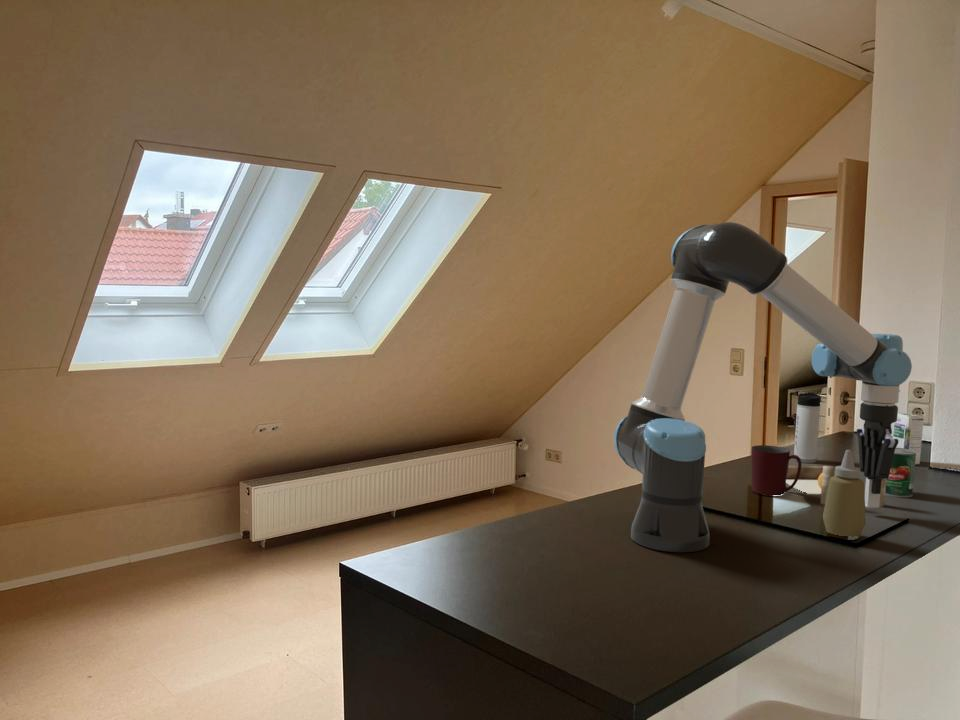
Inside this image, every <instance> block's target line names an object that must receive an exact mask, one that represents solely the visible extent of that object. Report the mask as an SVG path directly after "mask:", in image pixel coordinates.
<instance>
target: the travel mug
mask: <svg viewBox="0 0 960 720" xmlns="http://www.w3.org/2000/svg"><path fill="white" fill-rule="evenodd" d="M821 398H822V397H821V395H820V394H816V393H815V392H807V393H799V394H798V395H797V405H796V406H797V408H796V417H795V418H796V419H795V420H796V421H795V433H794V434H795V435H794V446H793V447H794V448H793V455H797V456H798V457H799V458H800V459H801V463H802V464H814V463H816V462H817V459H818V446H819V434H820V433H819V431H820V418H821V417H820V414H821ZM793 460H794V461H795V462H798V461H797V460H796V459H793Z"/></svg>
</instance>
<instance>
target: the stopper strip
mask: <svg viewBox="0 0 960 720" xmlns="http://www.w3.org/2000/svg"><path fill="white" fill-rule="evenodd" d="M823 466H824V465H821V466H820V465H801V472H800V476H799V479H798V480H818V477H819V475H820V474H821V473H823ZM797 471H798V465H788V471H787V478H786V479H788V480H795V478H796V475H797Z"/></svg>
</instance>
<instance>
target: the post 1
mask: <svg viewBox="0 0 960 720" xmlns="http://www.w3.org/2000/svg"><path fill="white" fill-rule="evenodd" d="M822 466H823V474H822V489H821V495H820V503H825V502H826V496H827V491H828V485H829V480H830V478H831V477H833V476H835V467H836V466H831V465H822Z"/></svg>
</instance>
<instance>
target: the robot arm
mask: <svg viewBox="0 0 960 720" xmlns="http://www.w3.org/2000/svg"><path fill="white" fill-rule="evenodd" d="M670 253H671V255H670V256H671V257H670V260H671V264H672V267H673V270H672V271H673V272H672V274H671V277H670V283H671V285H672V286H673V289H674V292H673V295H672V297H671V302H670V305H669V308H668V312H667V315H666V318H665V321H664V324H663V327H662V330H661V334H660V337H659V340H658V343H657V346H656V349H655V353H654V355H653V359H652V363H651V365H650V367H649V371H648V375H647V378H646V381H645V385H644V386H643V389H642V394H641V396H640V397H639V398H637V399H635V400H633V401H632V402H631V404H630V408H629V411H628V414H627V415H626V416H625V417H623V418H622V419H621V420H620V421H619V423H618V424H617V425H616V427H615V430H614V434H613V444H614V448H615V451H616V453H617V455H618V456H619V457H620V459H621V460H622V461H623V462H624V463H625V465H627V466H628V467H629V468H631V469H633V470H635V471H637V472H639V473H640V474H642V481H641V482H642V483H641V485H642V486H641V500H640V503H639V506H638V508H637V510H636V513H635V515H634V519H633V521H632V524H631V526H630V527H631V531H630V538H631V539H632V541H634V543H636V544H638V545H640V546H642V547H645V548H648V549H652V550H656V551H661V552H668V553H669V552H670V553H694V552H699V551H700V552H701V551H703V550H706V549H707V548H708V547H709V546H710V536H711V535H710V529H709V527H708V523H707V519H706V516H705V511H704V508H703V492H704V477H705V459H706V451H707V445H706V433H705V432H704V430H703V429H702V427H700V426H699V425H697V424H695V423H694V422H691V421H685V420H686V417H685V416H684V414H683V413H682V407H683V402H684V400H685V396H686V393H687V390H688V388H689V384H690V382H691V378H692V374H693V371H694V368H695V365H696V362H697V359H698V356H699V353H700V350H701V347H702V344H703V339H704V337H705V334H706V330H707V327H708V324H709V321H710V318H711V315H712V312H713V309H714V305H715V303H716V301H717V300H719V299H721V298H723V297H725V296H726V292H727V289H728V286H729V283H733V284H736V285H737V286H740V287H741V288H743V289H744V290H746V291H747V292H748V293H750V294H751V295H761V296H762V297H763V298H764V299H765V300H767V301H768V302H769V303H771V304H772V306H774V307H775V308H777V309H778V310H779V311H781V312H782V313H783V314H784V315H786V316H787V317H788V318H789V319H790V320H792V321H793V323H795V324H797V325H798V326H799V327H800V328H802V329H803V330H804V331H806V332H807V333H808V334H809V335H810V336H812V337H813V338H814V339H816V340H817V341H818V342H819V343H818V344H817V345H816V346H815V347H814V348H813V351H812V352H811V353H812V354H811V366H812V368H813V371H814V372H815V373H816V374H817V375H818V376H820V377H827V378H828V377H829V378H833V377H838V378H843V379H844V378H845V379H850V380H855V381H861V392H860V393H861V394H860V400H861V401H862V402H861V403H860V404H859V405H860V407H859V418H860V419H861V420H862V421H864V423H863V427H862V428H857V429H856V435H857V439H858V453H859V454H858V455H859V469H860V473H863V475H864V477H865V483H864V490H865V508H876V509H877V508H880V507H879V502H880V492H881V481H882V480H883V479H888V477H889V473H890V469H891V465H892V460H893V456H894V452H895V448H896V447H897V445H898V439H893V428H892V424H894V422H896V421H897V415H898V413H899V407H898V405H897V403H899V398H900V397H899V396H900V392H901V390H900V385H902V384H904V383H905V382H906V381H907V380H908V379H909V376H910V375H911V372H912V367H913V366H912V360H911V357H910V356H909V355H908V354H907V353H906V352H905V351H903V347H904V345H903V344H904V343H903V342H904V341H903V338H902V336H900V335H898V334H889V333H870V332H869V331H868V330H867V329H866V328H865V327H863V325H861V324H860V323H858V321H856V320H855V319H854V318H853V317H851V316H850V315H849V314H848V313H846V312H845V311H844V310H842V308H841V307H839V306H838V304H835V303H834V301H832V300H831V299H829V297H827V296H826V295H825V294H824V293H822V292H821V290H819V289H818V288H816V287H815V285H813V284H812V283H810V282H809V281H808V280H807V279H806V278H805V277H803V276H802V275H801V274H799V273H798V272H797V271H796V270H795V269H793V268H792V267H791V266H790V265H789V264H788V257H787V256H786V255H785V254H784V253H783V252H781V251H780V250H779V249H778V248H776V247H775V246H774V245H773V244H772V243H771V242H769V241H768V240H766V239H765V238H764V237H763V236H762V235H760V234H759V233H757V232H756V231H754V230H753V229H751V228H749V227H748V226H745V225H743V224H741V223H737V222H730V221H727V222H724V221H723V222H720V223H714V224H713V223H712V224H702V225H701V224H700V225H697V226H694V227H692V228H690V229H688V230H686V231H684V232H683V233H682V234H681V235H679V236H678V238H677V239H676V240H675V242H674V243H673V246H672V249H671V252H670Z"/></svg>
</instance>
